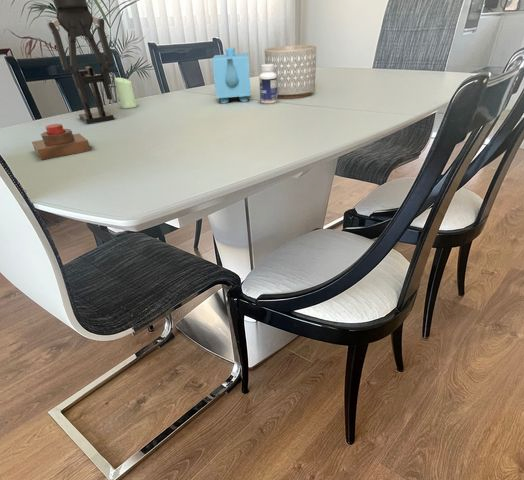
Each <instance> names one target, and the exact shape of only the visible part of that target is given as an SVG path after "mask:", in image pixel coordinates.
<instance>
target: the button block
mask: <svg viewBox="0 0 524 480" xmlns="http://www.w3.org/2000/svg"><path fill="white" fill-rule="evenodd" d="M63 129H64V133H60V134H54V135H48V133H47V131H45V132H42V133H40V136H41V139H39V140H34V141H31V144H32V146H33V149H34V151H35V153H36V154H37V155H38V157H39V158H40V160H41V161H44V160H49V159H55V158H59V157H64V156H70V155H75V154H80V153H84V152H91V151H92V150H91V149H92V148H91V145H90V144H89V140H88V139H87V138H86V137H84V135H82V134H81V133H73V131H72V130H71V129H70V128H63Z"/></svg>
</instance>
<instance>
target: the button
mask: <svg viewBox="0 0 524 480" xmlns="http://www.w3.org/2000/svg"><path fill="white" fill-rule="evenodd" d="M64 129H65V128H64V126H63V124H62V123H53V124H52V123H51V124H48V125H46V126H45V130H46V132H47V133H48V135H54V134H60V133H64Z"/></svg>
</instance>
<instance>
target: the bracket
mask: <svg viewBox="0 0 524 480" xmlns="http://www.w3.org/2000/svg"><path fill="white" fill-rule="evenodd" d="M84 68H85V70H87V71H88V74H89V75H90V76H95V75H96V73H95V71H94V69H93V67H92V66H89V65H88V66H85V67H84ZM78 70H79V69H78V68H77V73H79V71H78ZM71 75H72V74H71ZM72 77H73V75H72ZM89 85H90V88H91V91H92V94H93V98H94V102H95V105H96V108H97V111H91V108H90V103H86V102H85V101H84V98H83V95H82V91H81V88H79V89H78V88H77V87H76V89H77V92H78V95H79V98H80V102H81V105H82V108H83V111H84V113H81V114H78V117H79V119H80V120H81V121H82V122H84V123H85V124H87V125H90V124H96V123H97V124H98V123H102V122H108V121H114V120H115V117H114V115H113V114H112V113H110V112H108V111H106V110H105V107H104V104H103V101H102V96H101V93H100V89H99V87H98V86H99V85H98V82H97V83H89Z"/></svg>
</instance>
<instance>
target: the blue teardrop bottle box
mask: <svg viewBox="0 0 524 480" xmlns="http://www.w3.org/2000/svg"><path fill="white" fill-rule="evenodd" d="M224 51H225V54H216V55H214V56H213V57H212V58H211V64H212V72H213V80H214V89H215V98H216V99H220V102H219V103H220V104H227V103H229V100H230V98H239V101H240V102H249V97H251V96H252V92H251V77H250V62H249V52H242V53H240V52H239V53H235V52H236V48H235V47H226V48H225V49H224Z"/></svg>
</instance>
